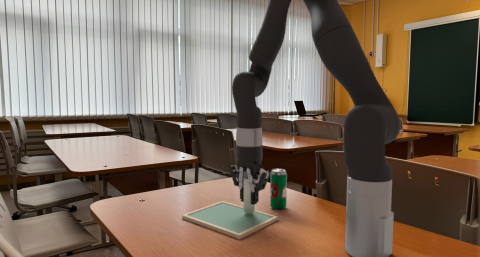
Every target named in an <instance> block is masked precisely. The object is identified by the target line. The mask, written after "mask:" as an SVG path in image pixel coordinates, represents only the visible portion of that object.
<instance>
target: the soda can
mask: <svg viewBox="0 0 480 257" xmlns="http://www.w3.org/2000/svg"><path fill="white" fill-rule="evenodd" d="M269 178H270V183H269V184H270V185H269V187H270V188H269V193H270V194H269V203H270V204H269V206H270V207H271V209H273V210H277V211H283V210H285V209H286V208H287V206H288V205H287V196H288V195H287V193H288V192H287V191H288V190H287V189H288V188H287V186H288V185H287V184H288V182H287V180H288V173H287V171H286V169H284V168H272V169H271V171H270V176H269Z"/></svg>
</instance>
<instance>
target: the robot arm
mask: <svg viewBox="0 0 480 257" xmlns="http://www.w3.org/2000/svg"><path fill="white" fill-rule="evenodd" d="M302 1H303V3H304V5H305V6H306V8H307V11H308V13H309V15H310V16H309V17H310V21H311V22H310V23H311V25H310V26H311V37H312V42H313V44H314V46H315V48H316V51H317V54H318V56H319V59H320V60H321V61H322V64H323V65H324V67H325V68H326V69H327V71H328V72H329V73H330V74H331V75H332V76H333V77H334V79H336V80H337V81H338V82H339V84H340V85H341V86H342V87H343V88H344V90H346V92H347V94H348V95H349V96H350V99H351V100H352V103H353V105H354V107H352V108H351V109H350V110H349V111H348V113H347V115H346V116H345V119H344V124H343V159H344V164H345V166H346V169H347V170H346V171H347V174H346V175H347V176H346V178H347V179H346V183H347V184H346V209H345V214H346V215H345V236H344V238H345V240H344V243H345V246H344V250H345V252H346V254H348V255H350V256H351V257H390V256H391V255H392V253H393V237H394V236H393V235H394V219H395V218H394V215H395V213H394V211H392V191H393V190H392V189H393V172H394V171H393V167H392V165H391V164H390V163H388V162H387V160H386V147H385V146H386V145H388V144H390V143H392V142H394V141H395V140H396V139H397V138H398V136H400V135H399V134H400V132H401V120H400V116H399V113H398V112H397V110H396V108H395V106H394V105H393V104H392V102H391V100H390V99H389V97H388V96H387V94H386V93H385V91H384V90H383V87H382V86H381V85H380V82H379V81H378V80H377V78H376V75H375V73H374V71H373V69H372V66H371V64H370V63H369V60H368V58H367V56H366V53H365V52H364V49H363V48H362V45H361V43H360V41H359V39H358V36H357V34H356V33H355V30H354V29H353V26H352V24H351V22H350V21H349V19H348V17H347V15H346V12H345V11H344V9H343V8H342V6H341V5H340V3H339V1H338V0H302ZM291 3H292V0H268V5H267V7H266V12H265V15H264V17H263V19H262V20H263V21H262V23H261V27H260V28H259V31H258V33H257V35H256V37H255V41H254V42H253V44H252V46H251V49H250V50H249V51H250V52H249V54H248V55H249V56H248V59H249V61H250V62H251V63H250V67H249V71H241V72H239V73H237V74H236V75H235V76H234V78H233V80H232V86H231V91H232V98H233V103H234V106H235V110H236V132H235V159H236V161H237V162H236V164H235V165H229V173H230V175H231V179H232V182H233V185H234V186H235V187H238V189H239V199H240V202H241V203H244V178H243V174H244V171H247V174H248V180H249V184H250V185H251V191H252V192H251V204H252V205H257V204H258V203H259V201H260V200H259V199H260V198H259V197H260V196H259V192H261V191H264V190H265V189H266V187H267V184H268V181H269V178H270V173H271V171H269V170H267V171H266V170H265V169H264V168H263V164H262V161H263V141H264V140H263V139H264V138H263V129H262V127H263V125H262V124H263V121H262V120H263V117H262V116H263V114H262V113H263V112H262V109H261V108H260V107H259V106H257V101H256V100H257V99H256V98H257V97H259V96H261V95H262V94H263V93H264V92H265V91H266V89H267V87H268V85H269V81H270V78H271V74H272V69H273V65H274V63H275V61H276V59H277V57H278V54H279V52H280V50H281V48H282V46H283V44H284V40H285V36H286V28H287V22H288V21H287V19H288V13H289V8H290V5H291ZM253 179H255V180H253Z"/></svg>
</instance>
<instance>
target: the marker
mask: <svg viewBox="0 0 480 257" xmlns="http://www.w3.org/2000/svg"><path fill="white" fill-rule="evenodd" d="M243 178H244V202H243V207H244V212H245V213H254V212H255V207H256V206H255V205H256V204H255V205H252V204H251V192H252V191H251V185H250V184H249V180H248V174H247V171H244V174H243ZM253 180H255V179H253Z"/></svg>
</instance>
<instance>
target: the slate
mask: <svg viewBox="0 0 480 257" xmlns="http://www.w3.org/2000/svg"><path fill="white" fill-rule="evenodd" d="M181 218H182V219H183V220H186V221H187V222H190V223H194V224H196V225H199V226H201V227H204V228H206V229H207V228H208V229H210V230H213V231H215V232H218V233H222V234H223V235H227V236H229V237H233V238H235V239H238V240H242V239H243V238H246V237H247V236H249V235H251V234H253V233H255V232H257V231H259V230H261V229H263V228H265V227H268V226H269V225H271V224H273V223H275V222H277V221H279V216H277V215H273V214H270V213H265V212H264V211H263V212H262V211H259V210H255V212H254V213H245V212H244V206H241V205H238V204H234V203H230V202H227V201H223V200H221V201H218V202H216V203H213V204H210V205H207V206H204V207H201V208H198V209H196V210H192V211H189V212H187V213H185V214H182V215H181Z"/></svg>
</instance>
